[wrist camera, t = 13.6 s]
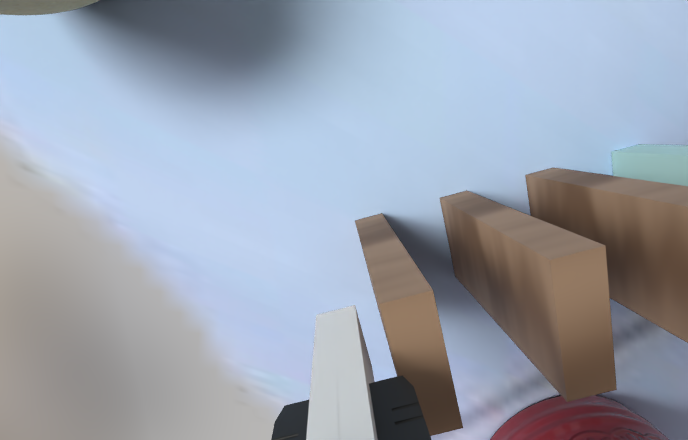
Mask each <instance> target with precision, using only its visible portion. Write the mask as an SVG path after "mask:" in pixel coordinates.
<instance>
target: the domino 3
mask: <svg viewBox="0 0 688 440" xmlns="http://www.w3.org/2000/svg"><path fill="white" fill-rule="evenodd" d="M526 183H527V191H528V198H529V206H530V213H531V216H532V217H535V218H537V219H540V220H542V221H545V222H547V223H550V224H552V225H555V226H558V227H560V228H563V229H565V230H568V231H570V232H573V233H575V234H578V235H580V236H583V237H585V238H588V239H590V240H593V241H595V242H598V243H600V244H603V245H605V246H606V259H607V272H608V285H609V298H611V299H613V300H614V301H616V302H618V303H620V304H621V305H623V306H625V307H626V308H628V309H630V310H632V311H633V312H635V313H637V314H639V315H640V316H642V317H644V318H646V319H647V320H649V321H651V322H652V323H654V324H656V325H658V326H659V327H661V328H663V329H665V330H666V331H668V332H670V333H672V334H673V335H675V336H677V337H678V338H680V339H682V340H684V341H685V342H687V343H688V186H682V185H675V184H668V183H661V182H653V181H646V180H639V179H632V178H625V177H617V176H610V175H603V174H596V173H589V172H581V171H574V170H567V169H560V168H550V169H546V170H542V171H538V172H535V173H531V174H527V175H526Z"/></svg>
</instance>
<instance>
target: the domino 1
mask: <svg viewBox="0 0 688 440" xmlns="http://www.w3.org/2000/svg"><path fill="white" fill-rule="evenodd" d="M355 223H356V226H357V230H358V234H359V238H360V241H361V245H362V249H363V253H364V256H365V260H366V264H367V268H368V272H369V275H370V279H371V283H372V287H373V290H374V294H375V298H376V301H377V305H378V309H379V312H380V316H381V320H382V323H383V327H384V330H385V334H386V338H387V341H388V345H389V349H390V352H391V356H392V359H393V363H394V367H395V370H396V374H397V377H398V376H402V375H403V376H404V377H405V378H406V379H407V380H408V381H409V382H410V383H411V384H412V385H413V386H414V389H415V392H416V395H417V398H418V401H419V404H420V407H421V410H422V413H423V416H424V419H425V422H426V425H427V428H428V431H429V434H430V436H432V435H436V434H440V433H444V432H448V431H452V430H456V429H460V428H463V426H462V421H461V417H460V412H459V407H458V403H457V398H456V394H455V389H454V384H453V380H452V375H451V371H450V366H449V362H448V357H447V352H446V348H445V343H444V339H443V334H442V330H441V325H440V320H439V316H438V311H437V307H436V302H435V298H434V293H433V290H432V288H431V287H430V285H429V284H428V282H427V281H426V279H425V278H424V276H423V275H422V273H421V272H420V270H419V268H418V267H417V265H416V264H415V262H414V261H413V259H412V258H411V256H410V255H409V253H408V252H407V250H406V249H405V247H404V246H403V244H402V243H401V241H400V240H399V238H398V237H397V235H396V234H395V232H394V231H393V229H392V228H391V226H390V225H389V223H388V222H387V220H386V219H385V217H384V216H383V214H382V213H381V214H378V215H374V216H370V217H366V218H363V219H359V220H355Z"/></svg>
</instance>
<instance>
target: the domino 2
mask: <svg viewBox="0 0 688 440" xmlns="http://www.w3.org/2000/svg"><path fill="white" fill-rule="evenodd" d="M440 202H441V207H442V212H443V217H444V222H445V227H446V233H447V238H448V243H449V248H450V253H451V258H452V263H453V268H454V273H455V277H456V278H457V279H458V280H459V281H460V282H461V283H462V285H463V286H464V287H465V288H466V289H467V290H468V291H469V292H470V294H471V295H472V296H473V297H474V298H475V299H476V300H477V301H478V303H479V304H480V305H481V306H482V307H483V308H484V309H485V310H486V312H487V313H488V314H489V315H490V316H491V317H492V318H493V319H494V320H495V322H496V323H497V324H498V325H499V326H500V327H501V328H502V329H503V331H504V332H505V333H506V334H507V335H508V336H509V337H510V338H511V340H512V341H513V342H514V343H515V344H516V345H517V346H518V347H519V348H520V350H521V351H522V352H523V353H524V354H525V355H526V356H527V357H528V359H529V360H530V361H531V362H532V363H533V364H534V365H535V366H536V368H537V369H538V370H539V371H540V372H541V373H542V374H543V375H544V376H545V378H546V379H547V380H548V381H549V382H550V383H551V384H552V385H553V387H554V388H555V389H556V390H557V391H558V392H559V393H560V394H561V396H562V397H563V398H564V399H565V400H566V401H567V402H569V401H573V400H577V399H581V398H585V397H589V396H593V395H597V394H601V393H605V392H609V391H613V390H617V389H616V376H615V363H614V350H613V337H612V324H611V311H610V298H609V285H608V272H607V259H606V246H605V245H603V244H600V243H598V242H595V241H593V240H590V239H588V238H585V237H583V236H580V235H578V234H575V233H573V232H570V231H568V230H565V229H563V228H560V227H558V226H555V225H552V224H550V223H547V222H545V221H542V220H540V219H537V218H535V217H532V216H530V215H527V214H525V213H522V212H520V211H517V210H515V209H512V208H510V207H507V206H505V205H502V204H499V203H497V202H494V201H492V200H489V199H487V198H484V197H482V196H479V195H477V194H474V193H472V192H469V191H464V192H460V193H456V194H452V195H449V196H445V197H441V198H440Z"/></svg>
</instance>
